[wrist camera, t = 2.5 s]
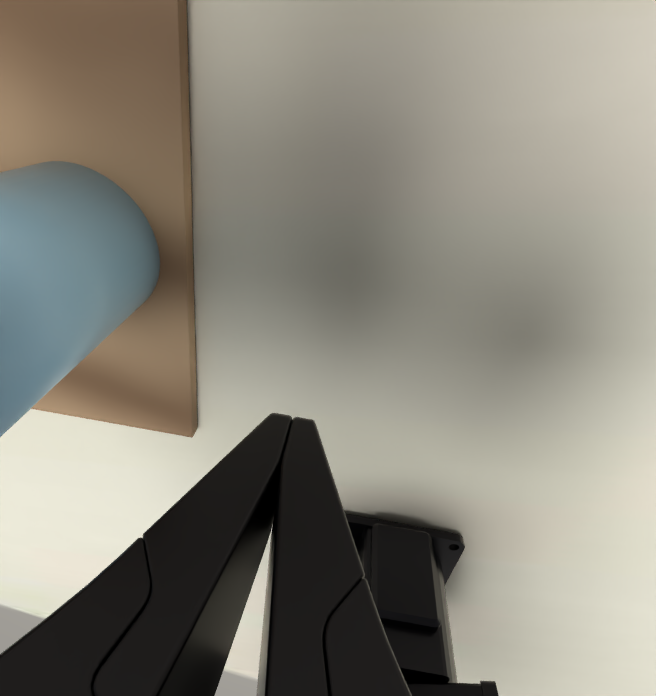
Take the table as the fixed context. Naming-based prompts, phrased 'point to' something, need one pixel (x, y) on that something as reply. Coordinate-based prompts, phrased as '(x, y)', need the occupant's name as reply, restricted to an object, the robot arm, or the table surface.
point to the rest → (114, 179)
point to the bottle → (64, 274)
